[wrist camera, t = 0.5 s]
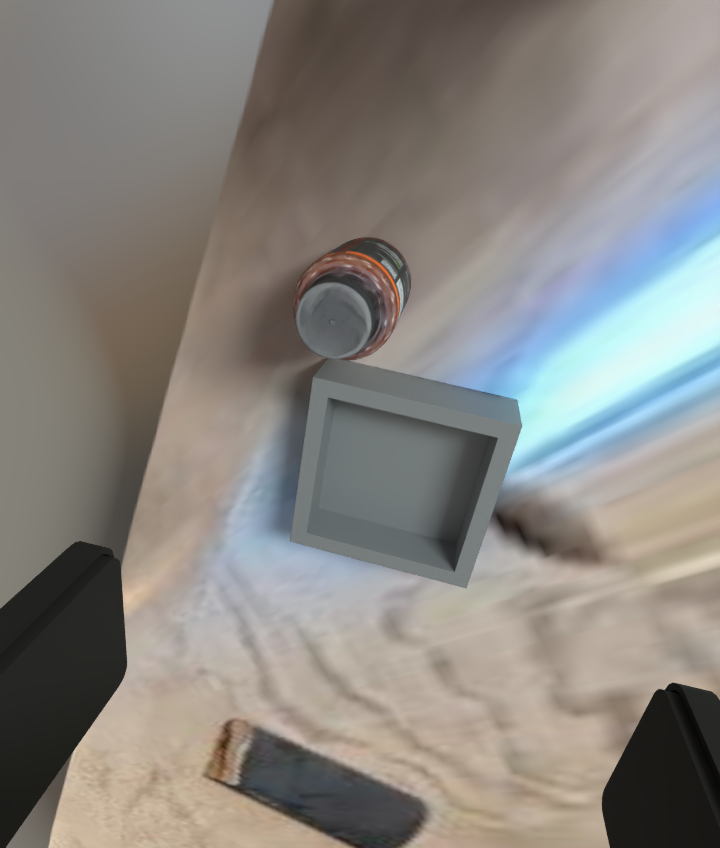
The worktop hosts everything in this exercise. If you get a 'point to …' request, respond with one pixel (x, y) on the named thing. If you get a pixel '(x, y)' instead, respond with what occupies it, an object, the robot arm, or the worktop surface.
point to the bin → (401, 469)
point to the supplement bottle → (351, 299)
